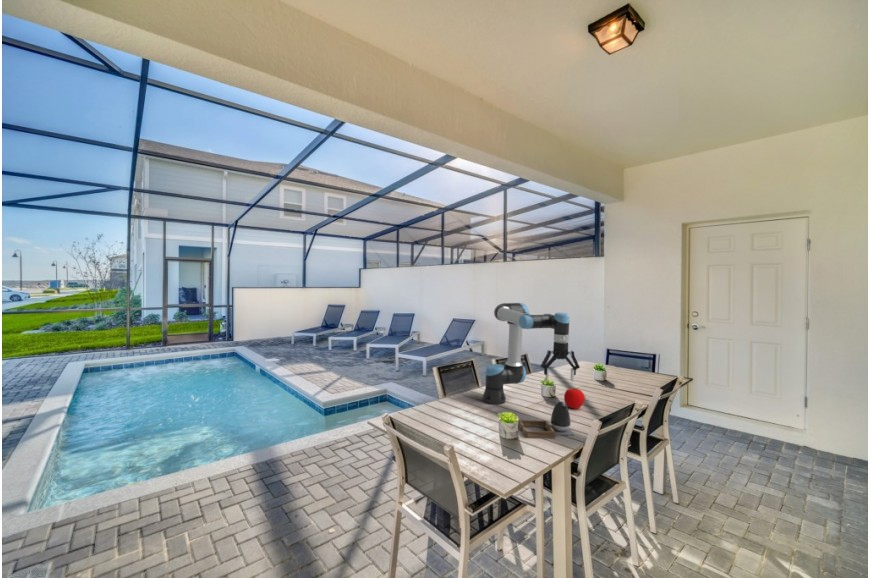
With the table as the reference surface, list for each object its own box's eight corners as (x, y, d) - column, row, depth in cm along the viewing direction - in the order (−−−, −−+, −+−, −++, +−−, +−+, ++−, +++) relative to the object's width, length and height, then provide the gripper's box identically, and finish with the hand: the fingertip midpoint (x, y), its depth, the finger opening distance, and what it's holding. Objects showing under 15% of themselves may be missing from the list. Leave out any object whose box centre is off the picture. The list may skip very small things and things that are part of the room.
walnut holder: (518, 425, 209) (518, 420, 209) (546, 425, 209) (546, 420, 209) (525, 437, 193) (525, 432, 193) (555, 438, 193) (555, 432, 193)
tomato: (563, 409, 235) (564, 389, 234) (563, 403, 246) (564, 384, 245) (585, 412, 231) (585, 391, 230) (584, 405, 242) (584, 386, 241)
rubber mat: (546, 425, 209) (546, 424, 209) (566, 426, 209) (566, 425, 209) (553, 435, 197) (553, 434, 197) (574, 435, 197) (574, 434, 197)
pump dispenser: (557, 434, 197) (558, 405, 196) (546, 426, 207) (547, 399, 206) (574, 432, 200) (575, 404, 199) (562, 424, 210) (563, 397, 209)
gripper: (539, 342, 198) (538, 382, 199) (587, 343, 198) (585, 383, 199) (535, 340, 205) (534, 378, 207) (581, 340, 206) (579, 379, 207)
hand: (559, 380), depth 203 cm, fingers open, 13 cm apart
